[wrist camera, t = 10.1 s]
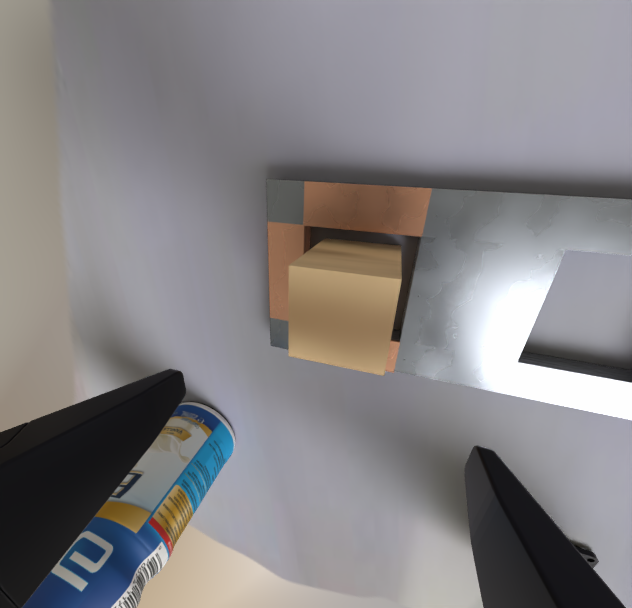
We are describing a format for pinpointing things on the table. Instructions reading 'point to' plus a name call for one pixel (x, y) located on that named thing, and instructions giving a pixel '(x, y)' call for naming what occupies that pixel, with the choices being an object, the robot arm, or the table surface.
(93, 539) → the beverage bottle
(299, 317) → the wooden block
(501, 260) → the rail frame
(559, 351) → the table surface
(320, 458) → the table surface
